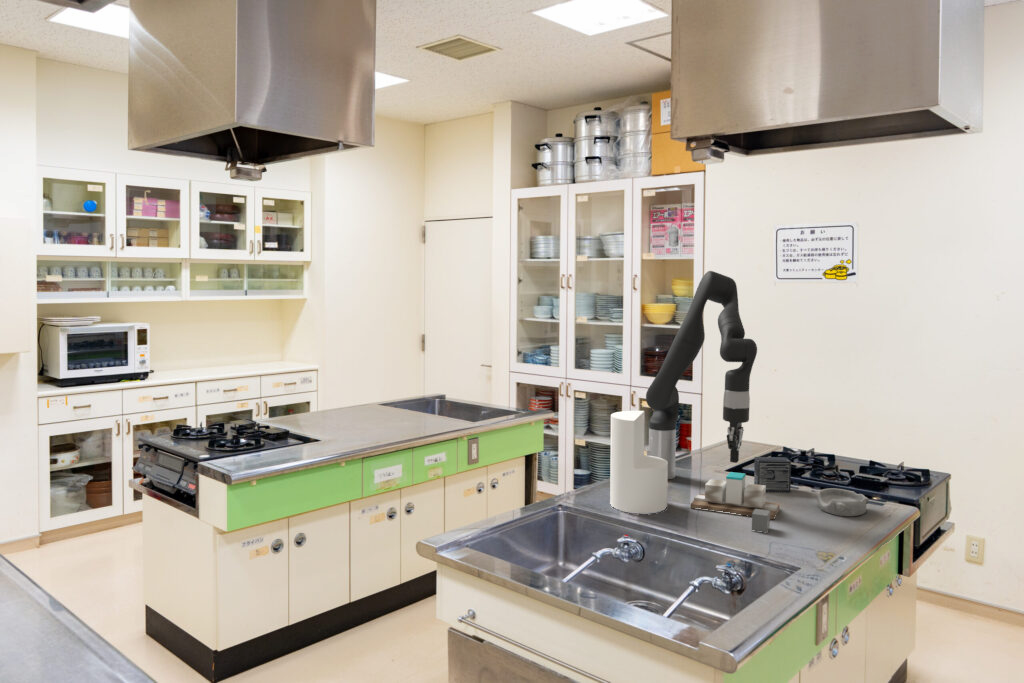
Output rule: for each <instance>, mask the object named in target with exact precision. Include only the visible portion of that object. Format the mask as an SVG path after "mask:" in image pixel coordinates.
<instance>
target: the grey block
mask: <svg viewBox="0 0 1024 683" xmlns="http://www.w3.org/2000/svg"><path fill="white" fill-rule="evenodd" d="M770 521H771V520H770V511H769V510H761V509H755V510H754V511H753V513H752V517H751V531H752V530H755V531H762V532H767V531H768V532H769V530H770V528H771V527H770V526H771V524H770V523H771V522H770ZM769 527H770V528H769ZM768 529H769V530H768ZM768 532H767V533H768Z"/></svg>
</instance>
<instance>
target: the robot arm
mask: <svg viewBox="0 0 1024 683" xmlns="http://www.w3.org/2000/svg"><path fill="white" fill-rule="evenodd" d="M736 283H737V282H736V280H734V278H732V277H729V276H728V275H724V274H721V273H719V272H715V271H713V270H709V271H708V270H707V272H705V273H704V275H703V276H702V277H701V279H700V281H699V283H698V286H697V288H696V291H695V293H694V296H693V298H692V302H691V304H690V306H689V308H688V311H687V313H686V315H685V317H684V319H683V321H682V323H681V325H680V327H679V329H678V330H677V333H676V334H675V337H674V339H673V341H672V343H671V346H670V347H669V350H668V352H667V354H666V356H665V358H664V360H663V363H662V365H661V367H660V368H659V371H658V372H657V374H656V376H655V378H654V379H653V381H652V383H650V386H649V387H648V389H647V390H646V393H645V399H646V404H647V405H648V407H649V408H650V409H651V410H653V412H652V416H651V417H650V418H649V420H648V449H647V450H646V455H647V456H654V457H659V458H662V459H664V460H666V461H667V462H668V477H667V480H673V479H675V478H676V452H677V451H676V449H677V447H676V444H677V443H676V442H677V439H676V438H677V435H676V434H677V428H676V427H677V422H678V419H679V407H680V406H679V405H680V403H679V402H680V396H679V390H678V388H677V384H678V382H679V380H680V378H681V377H682V376H683V375H684V374H685V372H686V371H687V370H688V368H689V367H690V366H691V365H692V364H693V362H694V361H695V360H696V358H697V357H698V355H699V353H700V350H701V348H702V346H703V345H704V342H705V338H706V337H705V326H704V309H705V307H706V305H707V304H706V303H707V302H708V301H711V302H712V303H713V302H714V303H717V304H721V305H722V308H723V309H722V310H721V312H720V313H719V315H718V318H717V325H718V330H719V333H720V338H721V342H720V345H719V346H720V347H719V355H720V357H721V359H722V360H723V361H724V362H727V363H741V364H740V366H739V367H737V368H733V369H730V370H727V371H726V372H725V375H724V391H723V403H722V404H723V405H722V420H723V421H725V422H728V423H729V426H728V427H727V434H726V441H727V447H728V449H729V452H730V454H729V457H730V458H729V460H730V461H729V462H730V463H735V464H737V463H739V460H740V459H739V458H740V457H739V456H740V449H741V446H742V442H743V435H744V431H745V429H744V426H743V423H747V422H749V421H750V407H751V406H750V403H751V402H750V400H751V398H750V396H751V395H750V381H751V374H752V369H753V365H754V363H755V360H756V357H757V354H758V346H757V345H758V344H756V342H755V340H754V339H752V338H745V334H746V331H745V328H744V325H743V322H742V319H741V316H740V311H739V297H738V296H739V294H738V286H737V284H736Z"/></svg>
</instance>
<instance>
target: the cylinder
mask: <svg viewBox="0 0 1024 683" xmlns="http://www.w3.org/2000/svg"><path fill="white" fill-rule="evenodd" d="M609 460H610V462H609V463H610V464H609V465H610V467H609V468H610V469H609V470H610V474H609V476H610V478H609V479H610V481H609V482H610V484H609V486H610V487H609V488H610V489H609V490H610V491H609V494H610V495H609V498H610V499H609V505H610V504H611V506H612V507H614V508H616V509H619V510H622V511H626V512H634V513H635V512H638V513H649V512H657V511H661V510H664V509H665V508H666V507H667V508H668V479H667V477H668V462H667V461H666V460H664V459H662V458H659V457H654V456H647V454H645V410H623V411H622V410H621V411H616V412H613V413H611V414H610V459H609ZM611 506H610V507H611ZM612 507H611V508H612Z"/></svg>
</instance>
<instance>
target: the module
mask: <svg viewBox="0 0 1024 683" xmlns="http://www.w3.org/2000/svg"><path fill="white" fill-rule="evenodd" d="M725 478H726V480H725V481H726V503H732V504H739V505H741V504H742V503H743V501H744V489H745V488H746V473H742V472H733V471H730V472H729V473H728V474H727V475H726V477H725Z"/></svg>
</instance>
